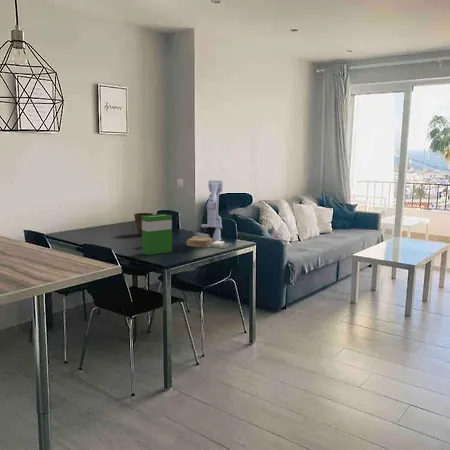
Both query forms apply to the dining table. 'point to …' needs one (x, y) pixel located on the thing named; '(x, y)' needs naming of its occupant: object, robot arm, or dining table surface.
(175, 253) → the dining table surface
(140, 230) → the plant pot
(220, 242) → the cream tile
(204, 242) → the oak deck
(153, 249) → the green cereal box
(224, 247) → the charcoal mat
